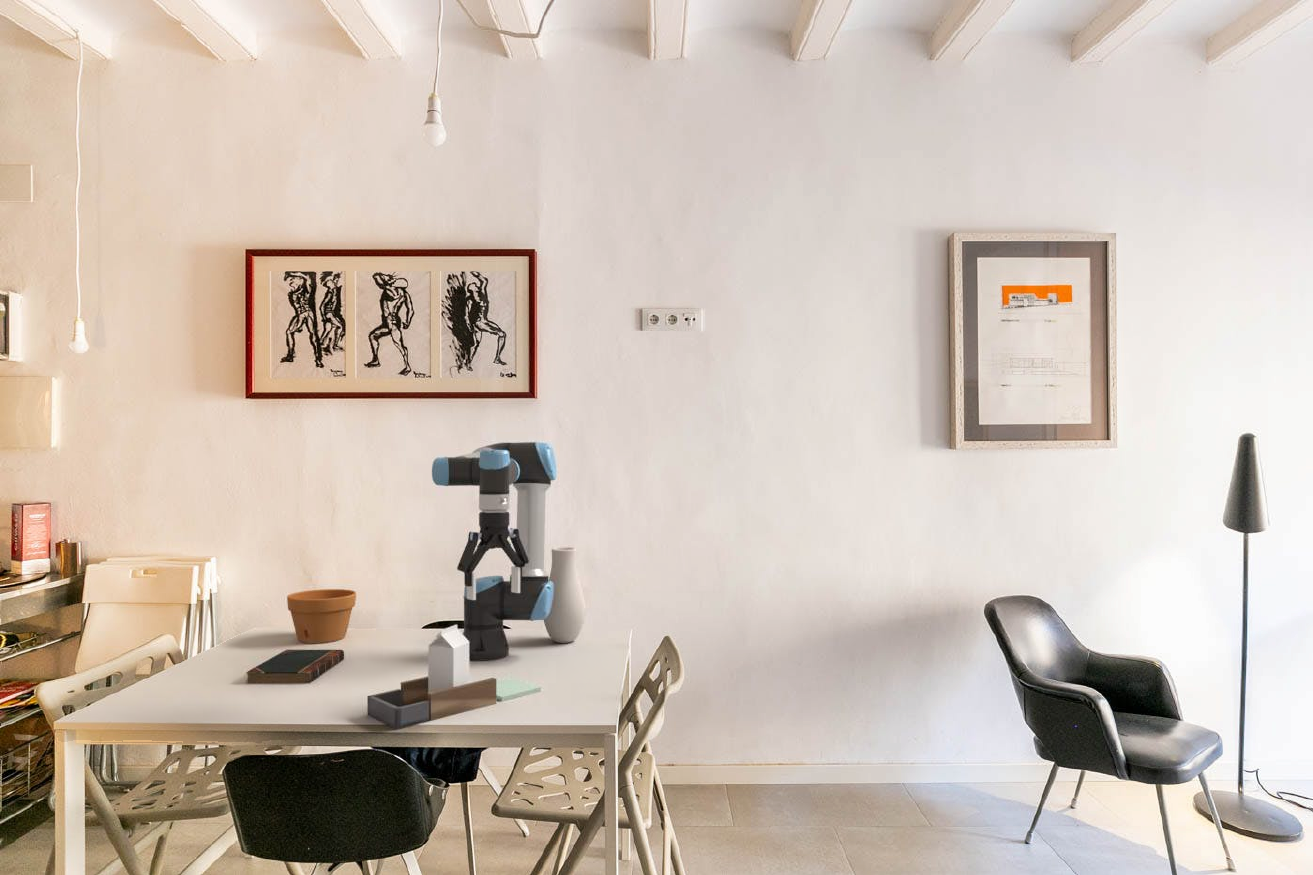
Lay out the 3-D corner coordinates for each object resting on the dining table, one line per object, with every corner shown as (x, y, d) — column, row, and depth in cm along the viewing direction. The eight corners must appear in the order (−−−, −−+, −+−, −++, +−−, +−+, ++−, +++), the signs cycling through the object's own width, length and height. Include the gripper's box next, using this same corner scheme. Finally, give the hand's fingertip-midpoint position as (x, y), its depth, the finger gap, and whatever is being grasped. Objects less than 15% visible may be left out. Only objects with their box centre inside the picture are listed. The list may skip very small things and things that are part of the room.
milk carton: (469, 702, 205) (469, 625, 206) (453, 711, 199) (453, 631, 199) (444, 699, 208) (444, 623, 208) (427, 708, 201) (428, 629, 201)
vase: (551, 648, 261) (551, 552, 261) (536, 639, 273) (536, 547, 273) (591, 643, 267) (591, 549, 267) (575, 634, 279) (575, 545, 279)
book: (285, 661, 247) (244, 685, 222) (285, 649, 247) (244, 672, 222) (344, 661, 247) (310, 685, 222) (344, 649, 247) (310, 671, 222)
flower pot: (309, 630, 286) (310, 587, 286) (367, 632, 283) (367, 588, 283) (273, 645, 265) (273, 598, 265) (335, 647, 262) (335, 600, 262)
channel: (400, 707, 202) (400, 682, 202) (465, 691, 215) (465, 668, 215) (430, 720, 192) (430, 694, 192) (496, 703, 205) (496, 678, 205)
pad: (472, 690, 216) (472, 686, 216) (511, 681, 224) (511, 677, 224) (501, 701, 207) (501, 697, 207) (540, 691, 215) (540, 687, 215)
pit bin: (367, 715, 196) (367, 696, 196) (398, 707, 201) (398, 689, 201) (396, 729, 186) (396, 709, 186) (428, 721, 192) (429, 701, 192)
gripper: (460, 514, 198) (460, 604, 197) (542, 509, 216) (542, 591, 216) (443, 513, 203) (442, 600, 202) (524, 507, 221) (524, 588, 221)
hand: (494, 596), depth 209 cm, fingers open, 13 cm apart
